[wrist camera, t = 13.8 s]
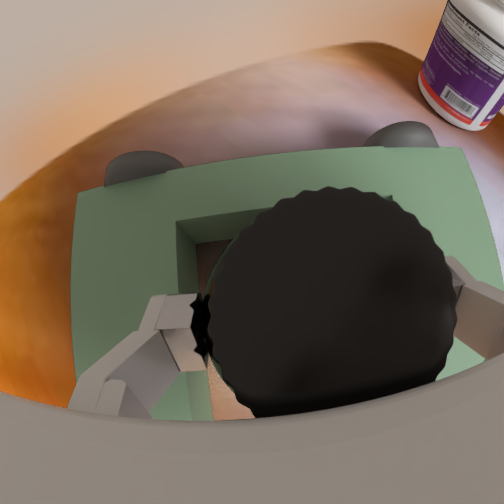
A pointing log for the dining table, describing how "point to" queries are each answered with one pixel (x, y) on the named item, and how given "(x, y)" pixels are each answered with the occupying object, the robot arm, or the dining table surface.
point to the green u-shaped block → (240, 216)
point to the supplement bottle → (329, 304)
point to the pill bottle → (466, 64)
